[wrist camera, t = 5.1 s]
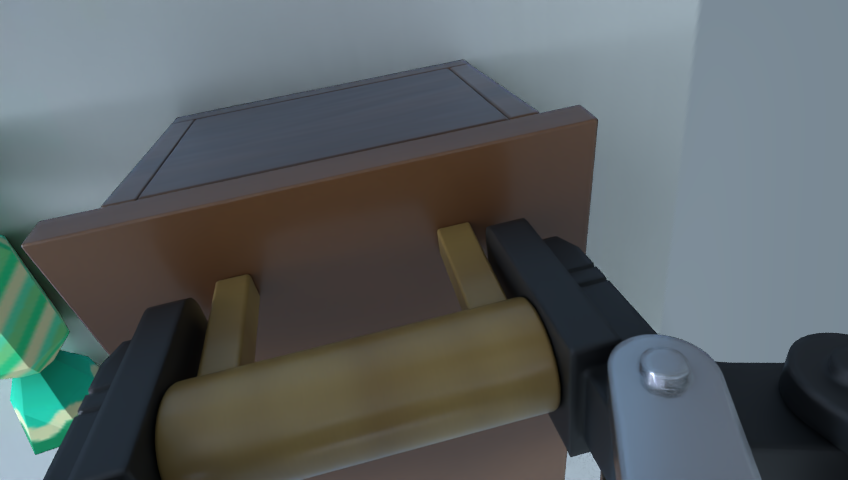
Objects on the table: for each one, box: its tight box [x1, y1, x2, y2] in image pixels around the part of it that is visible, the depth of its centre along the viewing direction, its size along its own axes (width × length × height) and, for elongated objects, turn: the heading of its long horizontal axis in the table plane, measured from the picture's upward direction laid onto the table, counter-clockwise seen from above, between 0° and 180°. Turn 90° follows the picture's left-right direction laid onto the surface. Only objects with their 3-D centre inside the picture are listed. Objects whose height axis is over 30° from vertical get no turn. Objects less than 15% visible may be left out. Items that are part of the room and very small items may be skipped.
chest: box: [101, 60, 539, 208], centre depth 19 cm, size 18×11×7 cm, turn 9°
